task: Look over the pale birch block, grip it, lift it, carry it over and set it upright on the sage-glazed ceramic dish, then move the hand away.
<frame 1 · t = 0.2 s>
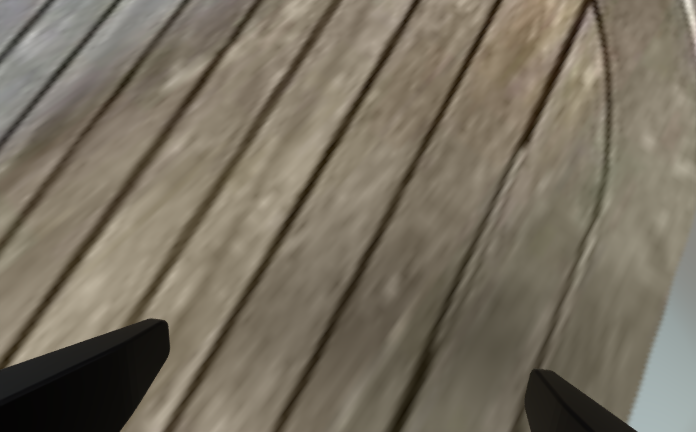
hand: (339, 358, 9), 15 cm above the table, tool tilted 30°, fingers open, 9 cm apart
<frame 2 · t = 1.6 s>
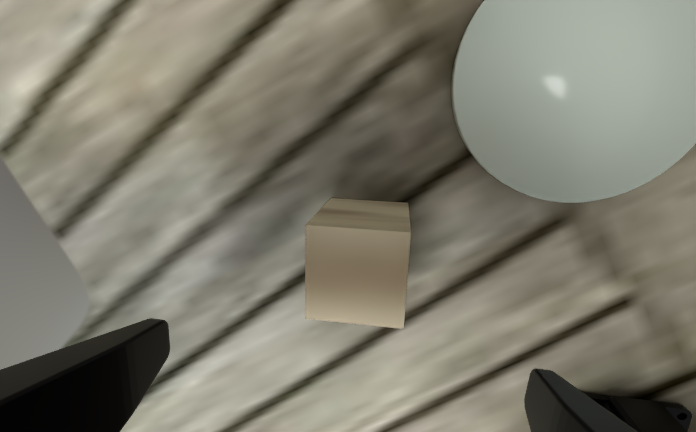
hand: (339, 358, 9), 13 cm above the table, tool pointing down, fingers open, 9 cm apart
birch block: (367, 237, 22), on the table
dish: (574, 80, 18), on the table
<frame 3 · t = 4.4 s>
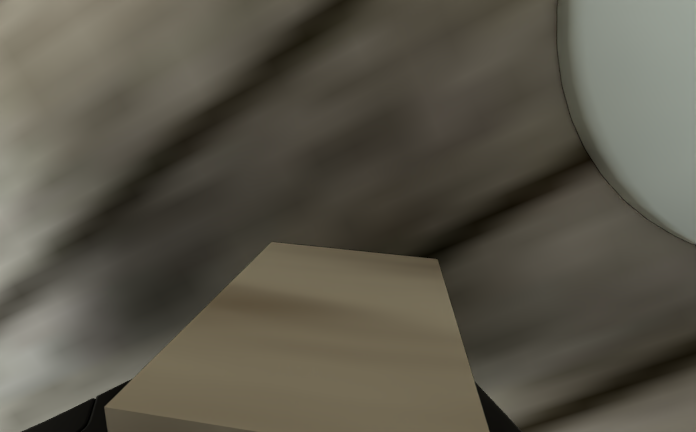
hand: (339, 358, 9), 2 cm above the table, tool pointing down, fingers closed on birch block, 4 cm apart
birch block: (347, 324, 10), on the table, touching gripper
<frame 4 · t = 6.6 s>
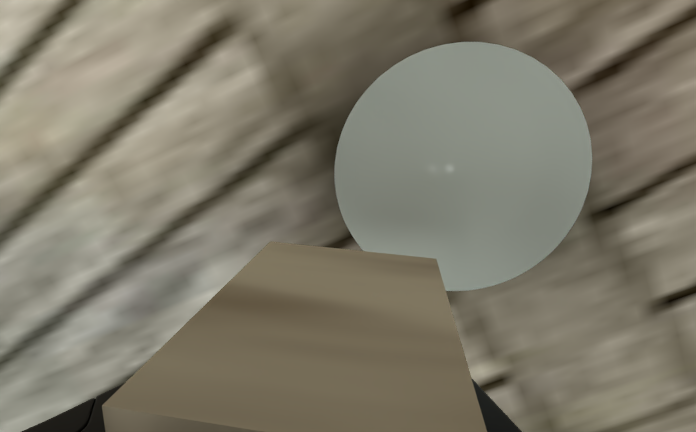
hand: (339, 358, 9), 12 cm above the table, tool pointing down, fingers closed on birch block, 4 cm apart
birch block: (346, 323, 10), point 10 cm above the table, touching gripper
dish: (453, 173, 19), on the table
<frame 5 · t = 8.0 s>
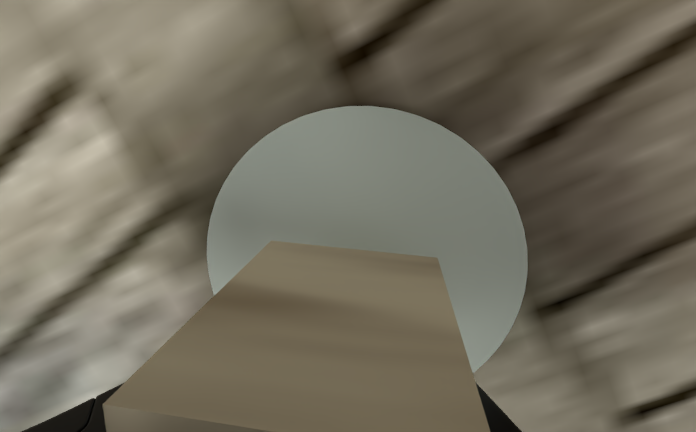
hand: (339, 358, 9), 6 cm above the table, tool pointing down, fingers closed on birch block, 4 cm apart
birch block: (347, 323, 10), point 5 cm above the table, touching gripper
dish: (361, 260, 15), on the table
when the fingers open (4 cm above the table, at t = 9.1 s): birch block drops 1 cm, resting on dish.
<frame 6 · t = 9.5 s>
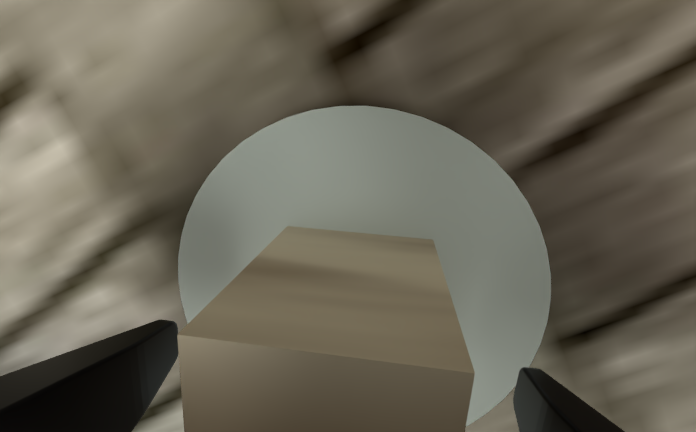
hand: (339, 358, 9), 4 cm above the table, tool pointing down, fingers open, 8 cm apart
birch block: (354, 298, 12), point 1 cm above the table, touching dish
dish: (356, 283, 13), on the table
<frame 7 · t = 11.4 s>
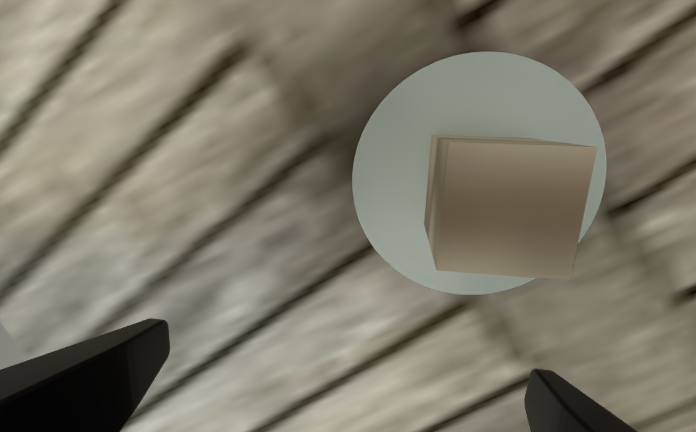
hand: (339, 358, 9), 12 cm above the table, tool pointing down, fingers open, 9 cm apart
birch block: (474, 183, 18), point 1 cm above the table, touching dish
dish: (468, 179, 19), on the table
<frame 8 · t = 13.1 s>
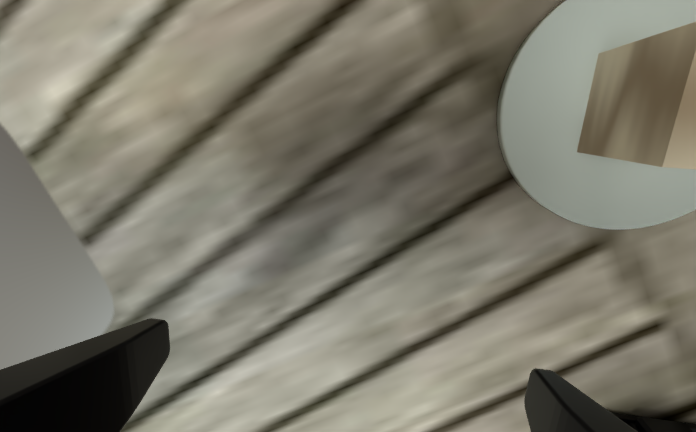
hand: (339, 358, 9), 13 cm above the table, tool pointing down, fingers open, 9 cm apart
birch block: (637, 107, 17), point 1 cm above the table, touching dish
dish: (621, 108, 18), on the table
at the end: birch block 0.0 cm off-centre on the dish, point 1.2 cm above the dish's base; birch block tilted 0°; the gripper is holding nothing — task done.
